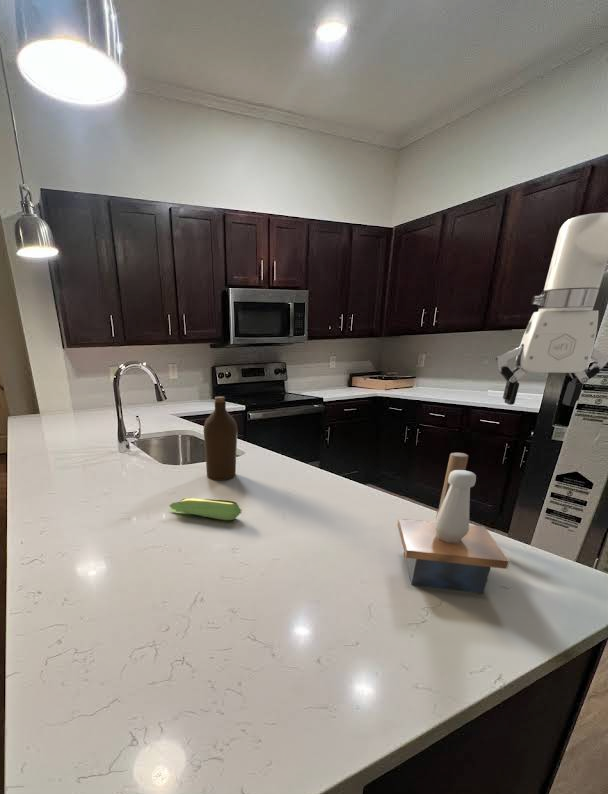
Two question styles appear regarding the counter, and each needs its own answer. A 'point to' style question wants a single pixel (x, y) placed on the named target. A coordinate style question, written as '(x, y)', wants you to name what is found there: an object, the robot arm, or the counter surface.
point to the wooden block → (455, 463)
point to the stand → (449, 557)
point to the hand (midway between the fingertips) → (538, 404)
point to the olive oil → (220, 442)
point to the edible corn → (207, 508)
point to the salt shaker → (455, 507)
